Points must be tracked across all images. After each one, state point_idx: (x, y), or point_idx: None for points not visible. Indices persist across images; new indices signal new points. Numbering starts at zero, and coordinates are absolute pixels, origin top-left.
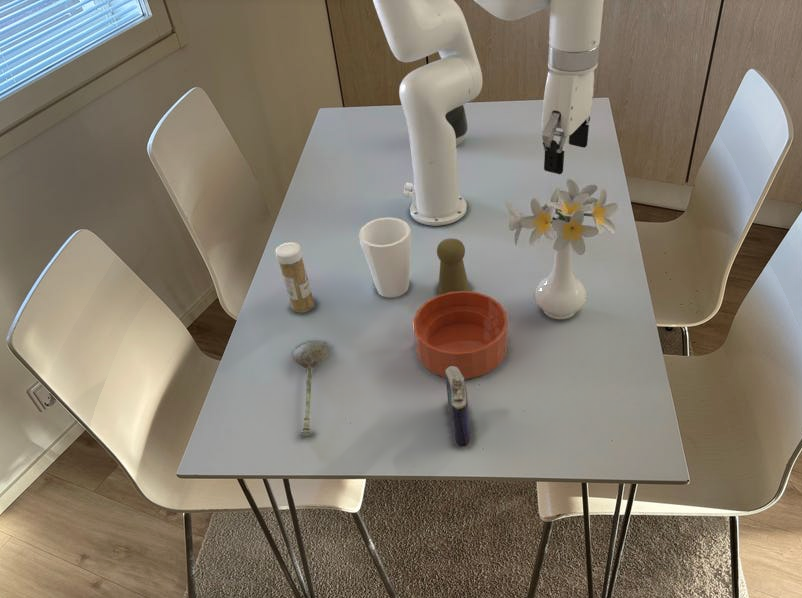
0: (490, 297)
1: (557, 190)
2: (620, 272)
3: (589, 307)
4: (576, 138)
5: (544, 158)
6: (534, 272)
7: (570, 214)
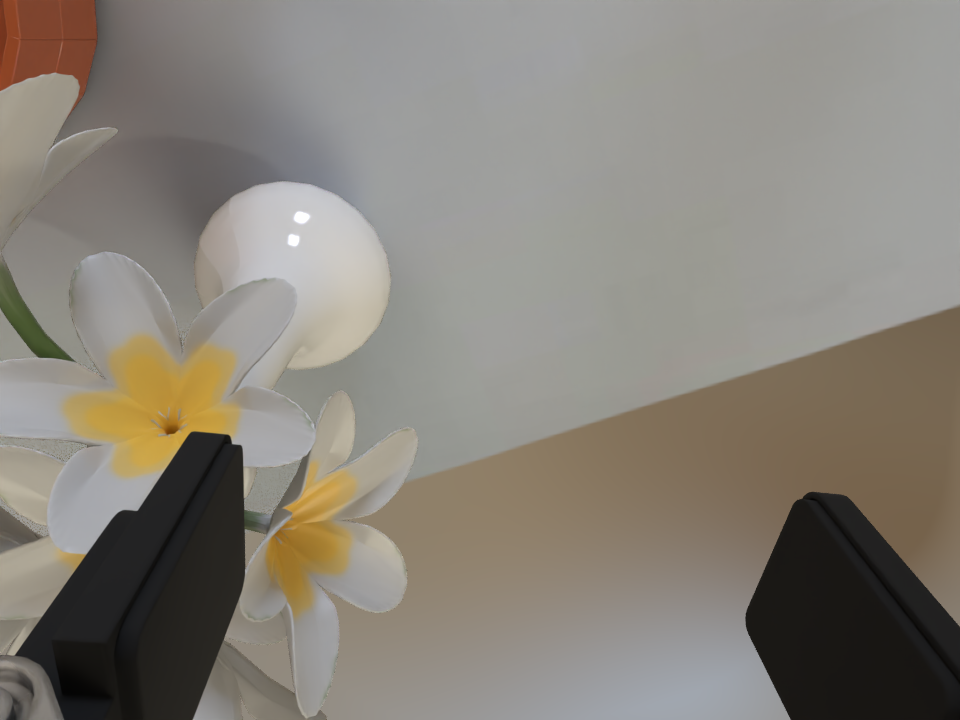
0: (17, 42)
1: (98, 533)
2: (568, 384)
3: None
4: (810, 615)
5: (134, 516)
6: (477, 101)
7: None
